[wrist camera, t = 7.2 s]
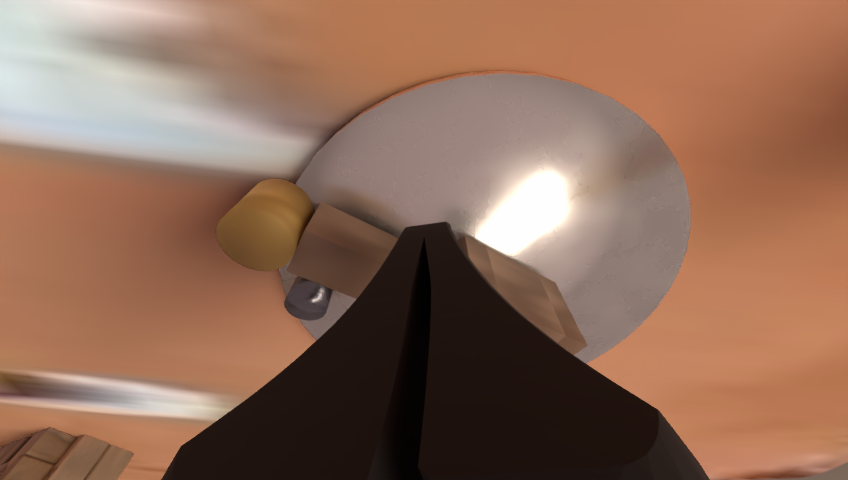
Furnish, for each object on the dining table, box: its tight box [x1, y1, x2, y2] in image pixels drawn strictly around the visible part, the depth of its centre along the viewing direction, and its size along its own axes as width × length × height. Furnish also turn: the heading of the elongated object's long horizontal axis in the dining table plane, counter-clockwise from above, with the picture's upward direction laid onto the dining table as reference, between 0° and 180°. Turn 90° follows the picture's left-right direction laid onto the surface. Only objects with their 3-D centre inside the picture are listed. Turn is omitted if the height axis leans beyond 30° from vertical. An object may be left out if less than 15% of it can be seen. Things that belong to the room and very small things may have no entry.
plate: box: [279, 70, 690, 363], centre depth 18 cm, size 22×22×1 cm
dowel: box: [284, 276, 334, 321], centre depth 15 cm, size 2×2×4 cm
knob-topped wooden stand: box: [216, 179, 588, 355], centre depth 14 cm, size 15×6×4 cm, turn 59°
